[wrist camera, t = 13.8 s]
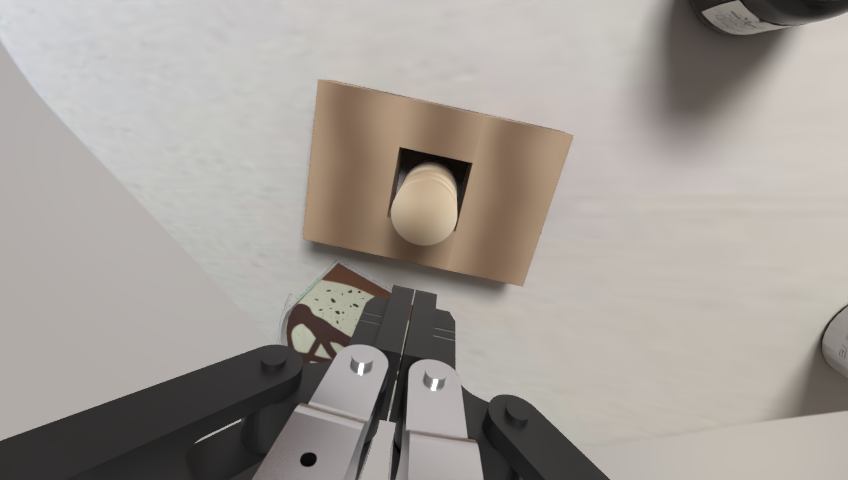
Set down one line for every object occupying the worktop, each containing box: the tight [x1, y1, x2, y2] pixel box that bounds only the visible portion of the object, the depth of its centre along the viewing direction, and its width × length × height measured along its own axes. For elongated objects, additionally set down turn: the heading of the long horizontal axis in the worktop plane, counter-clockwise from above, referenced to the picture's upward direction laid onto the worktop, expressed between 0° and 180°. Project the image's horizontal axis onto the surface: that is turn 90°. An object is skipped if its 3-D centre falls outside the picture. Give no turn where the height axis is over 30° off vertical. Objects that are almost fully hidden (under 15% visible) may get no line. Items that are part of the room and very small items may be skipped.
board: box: [303, 79, 573, 286], centre depth 31 cm, size 18×12×4 cm, turn 78°
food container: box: [279, 260, 413, 410], centre depth 33 cm, size 12×6×10 cm, turn 58°
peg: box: [391, 160, 457, 246], centre depth 28 cm, size 4×4×10 cm
